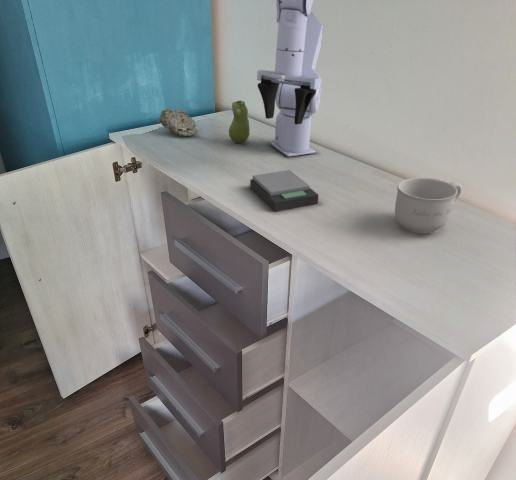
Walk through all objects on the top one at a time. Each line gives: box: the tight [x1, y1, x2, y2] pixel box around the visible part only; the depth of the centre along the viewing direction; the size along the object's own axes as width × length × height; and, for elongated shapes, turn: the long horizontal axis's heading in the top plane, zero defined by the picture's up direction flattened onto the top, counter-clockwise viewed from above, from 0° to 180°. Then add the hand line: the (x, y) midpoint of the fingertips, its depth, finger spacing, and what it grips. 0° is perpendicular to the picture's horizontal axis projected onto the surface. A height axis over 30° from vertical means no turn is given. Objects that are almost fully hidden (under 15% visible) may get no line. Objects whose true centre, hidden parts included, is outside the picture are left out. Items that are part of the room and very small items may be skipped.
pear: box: [228, 100, 250, 144], centre depth 128 cm, size 6×5×10 cm
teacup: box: [394, 177, 463, 234], centre depth 96 cm, size 14×11×8 cm
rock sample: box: [157, 108, 199, 137], centre depth 134 cm, size 10×8×9 cm
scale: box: [249, 169, 319, 212], centre depth 106 cm, size 12×10×3 cm
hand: (283, 121), depth 112 cm, fingers open, 7 cm apart
